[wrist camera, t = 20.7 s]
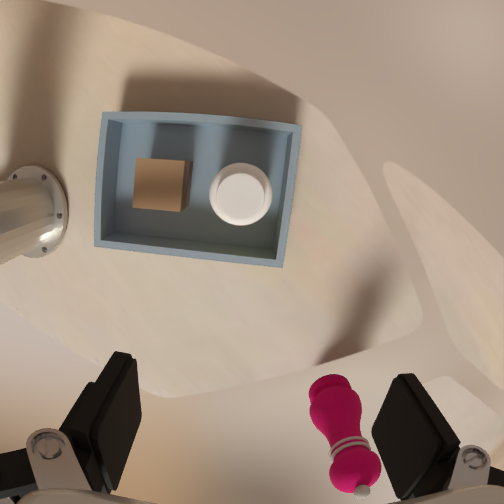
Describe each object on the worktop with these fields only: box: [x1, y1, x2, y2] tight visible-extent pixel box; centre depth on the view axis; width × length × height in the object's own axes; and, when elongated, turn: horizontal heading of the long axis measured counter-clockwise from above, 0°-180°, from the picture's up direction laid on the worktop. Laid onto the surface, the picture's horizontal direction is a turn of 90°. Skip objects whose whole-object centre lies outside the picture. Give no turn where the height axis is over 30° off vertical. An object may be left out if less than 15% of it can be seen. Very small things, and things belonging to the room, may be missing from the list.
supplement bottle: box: [209, 163, 272, 225], centre depth 31 cm, size 6×6×10 cm
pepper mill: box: [309, 374, 381, 499], centre depth 34 cm, size 7×7×20 cm
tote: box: [94, 112, 302, 268], centre depth 34 cm, size 21×15×5 cm
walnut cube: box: [133, 158, 193, 212], centre depth 33 cm, size 5×5×5 cm
